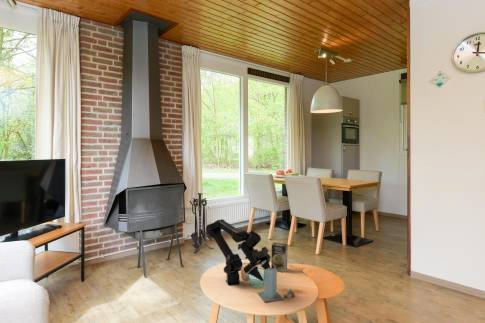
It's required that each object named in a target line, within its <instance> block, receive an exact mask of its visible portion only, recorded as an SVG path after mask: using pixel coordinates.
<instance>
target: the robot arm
mask: <svg viewBox="0 0 485 323" xmlns="http://www.w3.org/2000/svg"><path fill="white" fill-rule="evenodd" d="M222 230H223V231H224V232H225V233H226V234H228V235H229V236H231V240H233V241H234V242H235V243H237V244H238V243H239V244H238V245H237V250H241V251H242V252H243V255H245V257H244V258H245V260H248V261H249V263H248V264H247V265H245V266H244V267H243V261H242V258H241V257H240V255H239V254H238V253H233V251H232V249H231V248H230V246H229V244H228V243H227V241H226V240H225V238H224V236H223V234H222ZM205 232H206V233H207V234H208V236H209V237H210V238H212V239H214V241H215V242H216V245H217V246H218V248H219V250H220V251H221V253H222V254H223V256H224V259H225V266H224V268H223V273H225V274H226V279H225V282H226V284H227V285H228V286H234V285H240V273H239V272H241V271H242V267H243V272H244V273H245V274H247V275H250V276H253V277H254V278H256V279H258V280H259V281H261V282H264V277H263V276H262V275H261V272H260V271H259V267H258V265H260V267H262V269H264V270H266V269H268V268H271V263H270V261H271V255H270V254H269V249H268V248H267V246H264V247H261V249H260V250H258V249H257V248H256V249H255V247H256V246H257V245H258V244H259V243H260V242H261V240H262V237H261V235H260V234H259V233H257V232H255V231H254V230H251V231H250V232H247V230H245V229H242V228H237V227H235V226H233V225H232V224H230V223H229V222H227V221H226V220H225V219H222V218H220V219H217V220H215V221H214V222H212V223H209V224H206V226H205Z"/></svg>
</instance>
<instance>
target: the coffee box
mask: <svg viewBox="0 0 485 323" xmlns="http://www.w3.org/2000/svg"><path fill="white" fill-rule="evenodd" d="M270 257H271V258H270V261H271V263H270V268H272V269H276V270H277V272H280V273H286V272H287V270H288V243H281V242H273V243H272V244H271V255H270Z"/></svg>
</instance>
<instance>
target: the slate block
mask: <svg viewBox="0 0 485 323" xmlns="http://www.w3.org/2000/svg"><path fill="white" fill-rule="evenodd" d="M263 273H264V274H263V275H264V276H263V286H264V287H263V288H264V289H263V290H264V291H263V292H264V296H266V297H269V298H274V297H275V296H276V295H277V292H278V291H277V290H278V288H277V287H278V286H277V285H278V284H277V283H278V282H277V281H278V279H277V276H278V271H277V270H276V269H272V268H271V267H270V268H268V269H266V270H265V269H264V271H263Z"/></svg>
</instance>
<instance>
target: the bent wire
mask: <svg viewBox="0 0 485 323" xmlns="http://www.w3.org/2000/svg"><path fill="white" fill-rule="evenodd" d="M287 291H288V292H286V291H284V292H283V299H287V298H288V296H291V297H292V298H294V297H295V292H294V291H293V290H292V288H290V287H289V288H287Z"/></svg>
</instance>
